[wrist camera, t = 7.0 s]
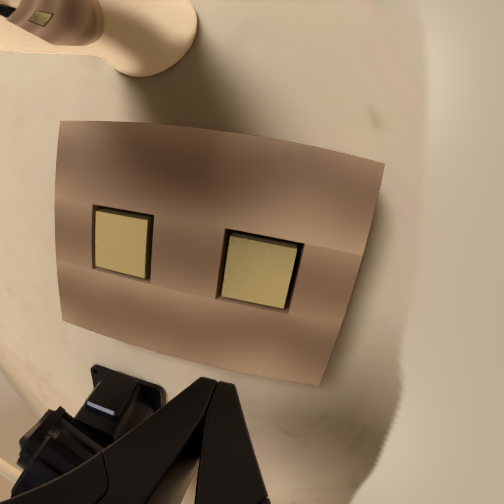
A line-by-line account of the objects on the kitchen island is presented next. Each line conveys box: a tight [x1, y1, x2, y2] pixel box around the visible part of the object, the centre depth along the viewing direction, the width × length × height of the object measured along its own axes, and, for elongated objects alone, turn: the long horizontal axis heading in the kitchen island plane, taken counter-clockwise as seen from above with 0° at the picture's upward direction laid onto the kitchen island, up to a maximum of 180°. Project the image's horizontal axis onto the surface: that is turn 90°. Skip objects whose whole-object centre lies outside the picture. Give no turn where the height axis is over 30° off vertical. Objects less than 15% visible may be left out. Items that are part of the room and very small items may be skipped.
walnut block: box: [55, 121, 385, 386], centre depth 17 cm, size 12×16×4 cm
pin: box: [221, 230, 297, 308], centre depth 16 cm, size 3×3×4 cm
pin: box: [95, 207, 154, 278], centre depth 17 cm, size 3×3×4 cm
